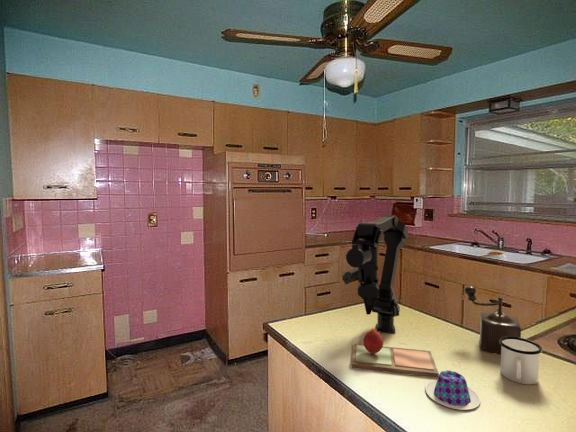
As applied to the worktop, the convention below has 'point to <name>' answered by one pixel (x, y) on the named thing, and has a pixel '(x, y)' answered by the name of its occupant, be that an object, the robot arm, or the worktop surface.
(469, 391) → the pudding
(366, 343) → the onion
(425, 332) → the worktop surface
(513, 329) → the brown coffee grinder
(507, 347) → the mug
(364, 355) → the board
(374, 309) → the robot arm
